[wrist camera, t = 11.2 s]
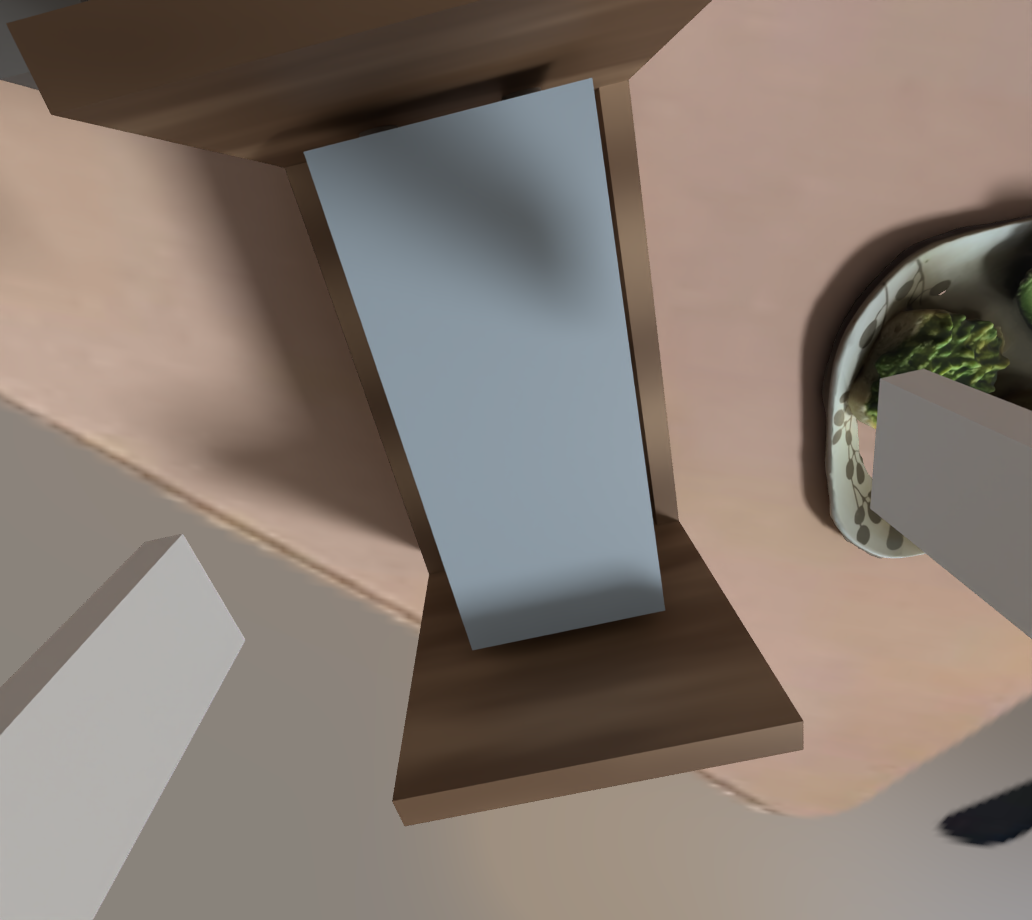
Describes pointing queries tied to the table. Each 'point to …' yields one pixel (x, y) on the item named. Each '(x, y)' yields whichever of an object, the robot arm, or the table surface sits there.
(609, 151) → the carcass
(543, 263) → the blue-grey rectangular block
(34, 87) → the block
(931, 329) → the salad plate
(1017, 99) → the table surface
